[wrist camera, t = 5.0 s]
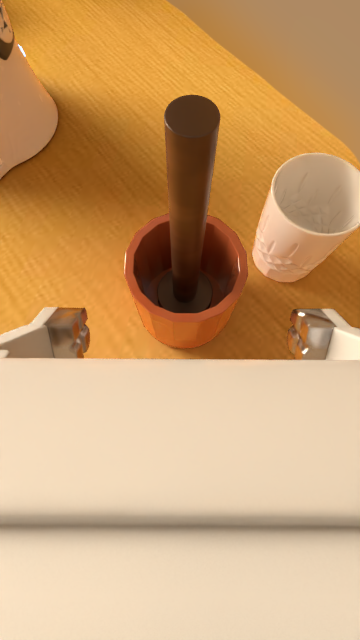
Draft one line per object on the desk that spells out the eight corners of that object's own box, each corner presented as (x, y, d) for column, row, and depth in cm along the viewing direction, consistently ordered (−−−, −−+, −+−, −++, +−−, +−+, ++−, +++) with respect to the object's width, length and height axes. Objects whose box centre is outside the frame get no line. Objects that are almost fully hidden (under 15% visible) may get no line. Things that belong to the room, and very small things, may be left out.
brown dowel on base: (158, 326, 31) (121, 168, 12) (159, 278, 33) (129, 66, 13) (210, 326, 31) (263, 169, 12) (209, 278, 33) (254, 67, 13)
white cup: (235, 269, 34) (256, 211, 24) (262, 213, 36) (291, 139, 27) (305, 300, 33) (355, 251, 23) (328, 240, 35) (384, 173, 26)
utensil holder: (136, 348, 31) (120, 322, 23) (140, 262, 34) (127, 210, 26) (231, 348, 31) (251, 322, 23) (228, 263, 34) (244, 211, 26)
